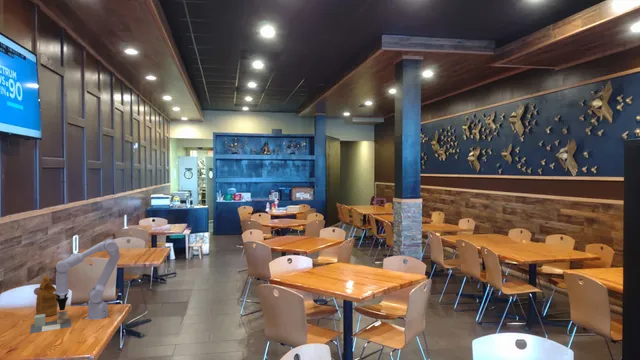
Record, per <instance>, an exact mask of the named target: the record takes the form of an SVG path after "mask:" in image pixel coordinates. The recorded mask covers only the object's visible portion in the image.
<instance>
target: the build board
mask: <svg viewBox="0 0 640 360" xmlns="http://www.w3.org/2000/svg"><path fill="white" fill-rule="evenodd" d="M71 327H72V319H71V318H67V322H66V323H60V324H57V319H56V320H51V321H45V326H41V327H35V323H31V324H30V330H29V334H31V335H32V334H36V333H43V332H49V331H55V330H62V329H66V328H67V329H68V328H71Z"/></svg>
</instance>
